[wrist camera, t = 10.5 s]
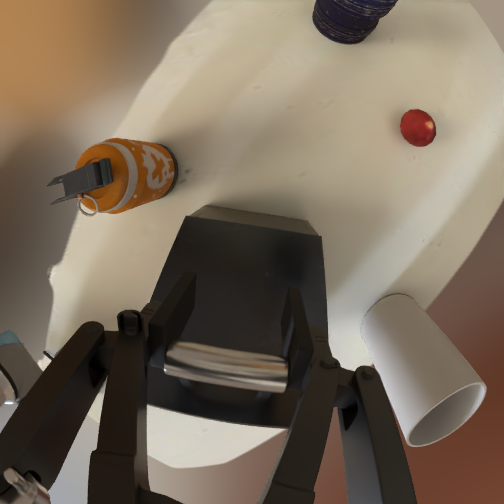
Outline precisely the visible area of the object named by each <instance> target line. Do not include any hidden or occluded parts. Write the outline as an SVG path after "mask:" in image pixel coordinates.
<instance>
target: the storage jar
mask: <svg viewBox="0 0 504 504" xmlns="http://www.w3.org/2000/svg"><path fill="white" fill-rule="evenodd" d="M397 1H398V0H316V3H315V6H314V12H313V16H312V17H313V22H314V25H315V26H316V28H317V29H318V30H319V31H320V33H322V34H323V35H324V36H325V37H327V38H329V39H331V40H332V41H335V42H338V43H342V44H356V43H359V42H361V41H363V40H364V39H365V38H366V37H367V36H368V35H369V34H370V33H371V32H372V31H373V30H374V29H375V28H376V26H377V24H378V22H379V19H380V18H382V17H383V16H385V15H387V14H388V13H389V11H390V10H391V9H392V8H393V7H394V6H395V4H396V2H397Z"/></svg>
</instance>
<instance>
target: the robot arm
mask: <svg viewBox="0 0 504 504" xmlns="http://www.w3.org/2000/svg"><path fill="white" fill-rule="evenodd" d="M196 277H197V272H192V271H185V272H184V274H183V275H182V276H181V278H180V279H179V280H178V282H177V283H176V284H175V286H174V287H173V289H172V290H171V291H170V293H169V294H168V296H167V297H166V298H165V300H164V301H163V302H159V301H155V300H153V301H151V302H149V303H147V304H146V306H145V307H144V308H143V309H142V311H141V312H139V311H137V310H124V311H121V312H120V313H119V314H118V315H117V321H118V329H119V331H104V326H103V325H102V324H101V323H99V322H95V321H90V322H86V323H84V324H83V325H81V326H80V328H79V329H78V330H77V331H76V332H75V333H74V335H73V336H72V337H71V338H70V339H69V340H68V342H67V343H66V344H65V345H64V347H63V348H61V349H60V350H59V351H58V352H57V353H56V355H55V356H54V358H53V357H52V356H50V355H49V354H48V353H47V352H46V351H44V352H43V353H44V354H45V355H46V356H47V357H48V358H49V359H50V360H52V361H51V363H50V364H49V365H48V366H47V368H46V369H45V370H44V372H43V371H42V370H41V369H40V367H39V366H38V365H37V363H36V362H35V361H34V359H33V358H32V357H31V355H30V354H29V352H28V351H27V349H26V348H25V347H24V344H23V343H22V342H21V341H20V340H19V338H18V337H17V335H16V334H15V333H14V332H13V331H5V332H3V333H1V334H0V409H1V407H2V406H3V405H4V403H6V404H13V403H14V402H16V403H17V405H18V407H17V409H16V410H15V412H14V413H13V415H12V416H11V418H10V419H9V421H8V422H7V424H6V426H5V427H4V428H3V430H2V432H1V433H0V504H51V502H50V497H49V493H48V490H49V489H50V488H51V486H52V485H53V483H54V482H55V480H56V478H57V476H58V474H59V472H60V470H61V468H62V466H63V463H64V461H65V459H66V457H67V454H68V452H69V450H70V448H71V446H72V444H73V442H74V440H75V437H76V435H77V433H78V431H79V429H80V427H81V425H82V423H83V421H84V419H85V417H86V415H87V413H88V411H89V409H90V408H91V406H92V404H93V402H94V400H95V398H96V396H97V394H98V393H99V392H100V391H101V389H102V387H103V383H104V381H105V380H106V378H107V376H108V378H107V383H106V389H105V394H104V400H103V406H102V412H101V419H100V426H99V434H98V442H97V449H96V450H94V451H92V453H91V456H90V465H89V478H88V503H87V504H183V503H181V502H179V501H176V500H174V499H172V498H170V497H168V496H165V495H162V494H158V493H155V492H151V491H150V486H149V481H148V465H147V383H148V362H149V360H150V359H151V366H154V367H158V368H161V369H164V359H165V353H166V349H167V346H168V343H169V341H170V340H171V339H172V338H178V339H180V337H181V335H182V333H183V331H184V328H185V326H186V324H187V322H188V320H189V318H190V316H191V314H192V312H193V310H194V307H195V291H196ZM281 335H282V350H283V356H288V357H289V362H290V369H289V378H288V383H287V387H286V389H285V390H296V391H300V388H301V386H302V385H303V391H302V394H301V396H300V399H299V401H298V403H297V408H296V411H295V413H294V416H293V419H292V422H291V424H290V427H289V430H288V432H287V435H286V438H285V440H284V443H283V445H282V448H281V450H280V453H279V455H278V458H277V460H276V462H275V465H274V467H273V469H272V472H271V474H270V476H269V478H268V481H267V483H266V485H265V488H264V489H263V492H262V494H261V496H260V498H259V500H258V502H257V504H313V503H314V499H315V492H314V485H315V482H316V479H317V475H318V472H319V468H320V464H321V460H322V457H323V453H324V449H325V445H326V440H327V436H328V432H329V427H330V422H331V418H332V412H333V408H334V407H338V416H339V423H340V430H341V438H342V446H343V456H344V466H345V476H346V488H347V501H348V504H417V500H416V496H415V491H414V487H413V482H412V478H411V474H410V470H409V466H408V463H407V459H406V455H405V451H404V448H403V444H402V441H401V437H400V434H399V431H398V427H397V424H396V421H395V418H394V415H393V412H392V409H391V406H390V403H389V400H388V397H387V394H386V391H385V388H384V385H383V382H382V379H381V377H380V374H379V373H378V371H377V370H375V369H374V368H372V367H370V366H360V367H358V368H357V369H356V371H351V370H347V369H344V368H342V367H340V363H339V361H338V360H337V359H335V358H334V357H332V354H331V350H330V347H329V344H328V340H327V339H326V338H327V337H326V334H325V332H324V330H323V329H322V328H321V327H319V326H310V325H308V321H307V316H306V312H305V308H304V304H303V300H302V296H301V291H300V288H293V287H288V292H287V296H286V300H285V305H284V309H283V313H282V318H281Z"/></svg>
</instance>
